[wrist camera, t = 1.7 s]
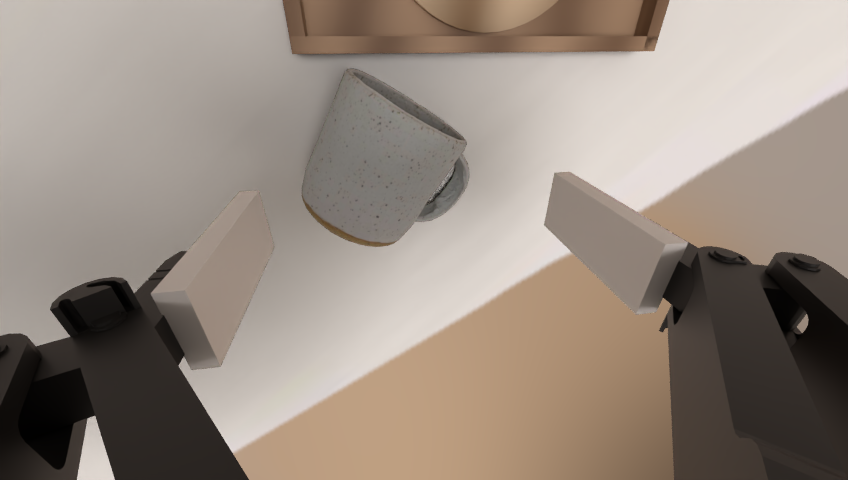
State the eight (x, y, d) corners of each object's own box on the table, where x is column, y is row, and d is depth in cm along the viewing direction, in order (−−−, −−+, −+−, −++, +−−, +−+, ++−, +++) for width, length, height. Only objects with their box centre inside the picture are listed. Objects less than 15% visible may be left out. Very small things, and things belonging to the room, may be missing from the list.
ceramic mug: (301, 177, 23) (282, 230, 17) (348, 61, 20) (347, 70, 14) (430, 230, 27) (455, 289, 21) (484, 140, 24) (533, 176, 18)
